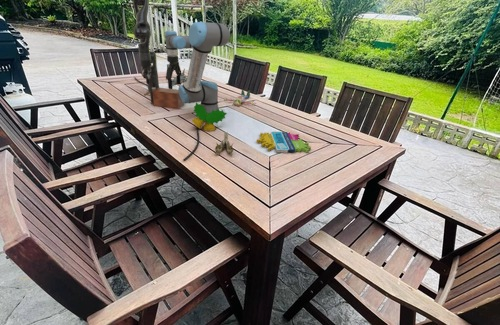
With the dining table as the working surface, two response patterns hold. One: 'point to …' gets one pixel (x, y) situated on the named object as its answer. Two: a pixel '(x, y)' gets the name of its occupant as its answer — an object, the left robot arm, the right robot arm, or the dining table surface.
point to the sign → (283, 142)
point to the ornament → (207, 117)
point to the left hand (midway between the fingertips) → (148, 83)
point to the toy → (241, 99)
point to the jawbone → (224, 145)
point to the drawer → (150, 96)
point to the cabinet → (167, 98)
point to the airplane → (180, 78)
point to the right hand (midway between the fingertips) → (174, 86)
